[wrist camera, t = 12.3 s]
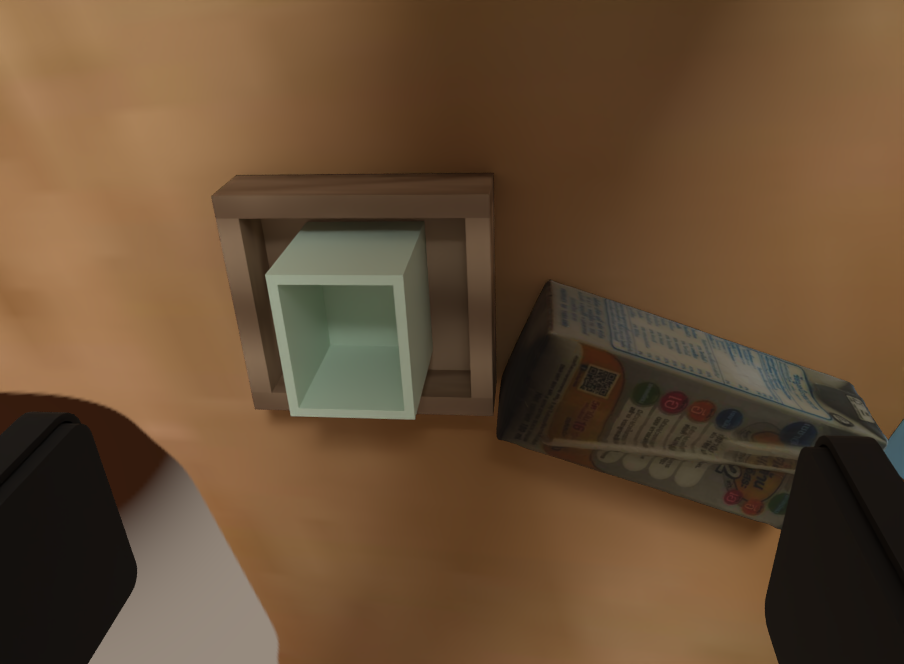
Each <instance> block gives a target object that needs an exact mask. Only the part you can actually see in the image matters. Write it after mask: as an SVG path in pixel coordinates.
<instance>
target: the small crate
mask: <svg viewBox="0 0 904 664" xmlns="http://www.w3.org/2000/svg"><path fill="white" fill-rule="evenodd" d="M265 277H266V282H267V288H268V293H269V299H270V304H271V310H272V315H273V321H274V326H275V332H276V337H277V343H278V348H279V354H280V359H281V365H282V371H283V376H284V382H285V387H286V393H287V398H288V404H289V409H290V415H291V416H303V417H340V418H376V419H413V420H415V417H416V414H417V410H418V406H419V402H420V398H421V394H422V390H423V386H424V383H425V379H426V375H427V371H428V367H429V363H430V359H431V355H432V351H433V344H432V329H431V314H430V298H429V283H428V268H427V252H426V237H425V221H374V222H306V224H305V225H304V226H303V228H302V229H301V230H300V231H299V233H298V234H297V235H296V236H295V238H294V239H293V240H292V241H291V243H290V244H289V245H288V247H287V248H286V249H285V250H284V252H283V253H282V254H281V255H280V257H279V258H278V259H277V260H276V262H275V263H274V264H273V266H272V267H271V268H270V269H269V271H268V272H267V273H266V274H265Z"/></svg>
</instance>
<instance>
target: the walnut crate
mask: <svg viewBox="0 0 904 664" xmlns="http://www.w3.org/2000/svg"><path fill="white" fill-rule="evenodd" d="M211 198H212V203H213V208H214V212H215V217H216V222H217V227H218V232H219V237H220V242H221V246H222V251H223V256H224V261H225V266H226V271H227V275H228V280H229V285H230V290H231V295H232V300H233V305H234V309H235V314H236V319H237V324H238V329H239V334H240V339H241V343H242V348H243V353H244V358H245V363H246V368H247V373H248V377H249V382H250V387H251V392H252V397H253V402H254V406H255V409H263V410H290V409H289V404H288V398H287V393H286V387H285V382H284V376H283V371H282V365H281V359H280V354H279V348H278V343H277V337H276V332H275V326H274V321H273V315H272V310H271V304H270V299H269V293H268V288H267V282H266V277H265V274H266V273H267V272H268V271H269V269H270V268H271V267H272V266H273V264H274V263H275V262H276V260H277V259H278V258H279V257H280V255H281V254H282V253H283V252H284V250H285V249H286V248H287V247H288V245H289V244H290V243H291V241H292V240H293V239H294V238H295V236H296V235H297V234H298V233H299V231H300V230H301V229H302V228H303V226H304V225H305V224H306V222H374V221H425V237H426V252H427V268H428V283H429V298H430V314H431V329H432V344H433V351H432V355H431V359H430V363H429V367H428V371H427V375H426V379H425V383H424V386H423V390H422V394H421V398H420V402H419V406H418V410H417V414H439V415H474V416H493V413H494V403H495V393H496V383H497V380H496V312H495V243H494V175H493V173H427V174H317V175H236V176H235V177H234V178H232V179H231V180H230V181H229V182H227V183H226V184H225V185H224V186H223V187H221V188H220V189H219V190H218V191H216V192H215V193H214V194H213V195H212V196H211Z"/></svg>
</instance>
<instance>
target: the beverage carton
mask: <svg viewBox="0 0 904 664" xmlns="http://www.w3.org/2000/svg"><path fill="white" fill-rule="evenodd" d="M496 434H497V438H498V439H499V440H504V441H508V442H511V443H514V444H517V445H519V446H522V447H524V448H527V449H530V450H533V451H537V452H540V453H543V454H546V455H550V456H553V457H557V458H560V459H563V460H566V461H569V462H572V463H575V464H578V465H581V466H584V467H587V468H590V469H594V470H597V471H600V472H603V473H606V474H610V475H613V476H617V477H620V478H623V479H626V480H629V481H633V482H636V483H639V484H642V485H645V486H649V487H652V488H655V489H658V490H661V491H664V492H667V493H670V494H673V495H676V496H680V497H683V498H686V499H689V500H692V501H695V502H698V503H701V504H704V505H707V506H710V507H713V508H716V509H719V510H723V511H726V512H729V513H732V514H736V515H739V516H742V517H745V518H748V519H752V520H755V521H759V522H763V523H767V524H769V525H771V526H773V527H775V528H777V529H781V530H782V525H783V521H784V517H785V512H786V508H787V504H788V499H789V495H790V491H791V487H792V482H793V478H794V474H795V469H796V465H797V461H798V457H799V454H800V451H801V449H802V448H803V447H814V445H815V443H816V441H817V439H818V438H819V437H820V436H823V435H828V436H862V437H871V438H874V439H875V440H876V441H877V442H878V443H879V445H880V446H881V448H882V449H883V451H884V450H885V449H886V447H887V445H888V440H887V438H886V437H885V435H884V434H883V433H882V431H881V430H880V428H879V427H878V425H877V424H876V422H875V421H874V419H873V418H872V416H871V414H870V412H869V410H868V408H867V407H866V405H865V402H864V401H863V399H862V398H861V397H860V396H859V395H858V394H857V392H856V391H855V388H854V386H853V385H852V384H851V383H849V382H847V381H844V380H841V379H838V378H835V377H833V376H830V375H827V374H825V373H821V372H818V371H815V370H812V369H809V368H806V367H803V366H800V365H797V364H794V363H791V362H789V361H786V360H783V359H780V358H777V357H775V356H772V355H769V354H767V353H763V352H760V351H757V350H754V349H751V348H748V347H746V346H743V345H740V344H737V343H734V342H731V341H728V340H725V339H722V338H719V337H716V336H714V335H711V334H708V333H705V332H703V331H700V330H697V329H694V328H691V327H688V326H686V325H683V324H680V323H677V322H674V321H671V320H668V319H665V318H662V317H659V316H656V315H654V314H651V313H648V312H645V311H642V310H639V309H636V308H633V307H630V306H627V305H624V304H621V303H618V302H615V301H612V300H609V299H606V298H603V297H600V296H597V295H594V294H591V293H588V292H585V291H581V290H579V289H576V288H573V287H570V286H566V285H563V284H560V283H557V282H554V281H552V280H548V281H547V282H546V284H545V285H544V287H543V289H542V291H541V293H540V295H539V297H538V299H537V301H536V304H535V306H534V308H533V310H532V312H531V314H530V316H529V318H528V320H527V322H526V324H525V327H524V329H523V331H522V333H521V335H520V337H519V339H518V341H517V343H516V345H515V348H514V350H513V352H512V354H511V356H510V359H509V361H508V363H507V366H506V368H505V371H504V373H503V376H502V380H501V387H500V394H499V407H498V419H497V431H496Z"/></svg>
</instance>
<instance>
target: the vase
mask: <svg viewBox="0 0 904 664" xmlns="http://www.w3.org/2000/svg"><path fill="white" fill-rule="evenodd" d="M884 452H885V454H886V455H887V457H888V458H889V460H890V462H891V463H892V465H893V466H894V468H895V469H896V471H897V472H898V474H899V476H900V477H902V478H903V479H904V419H903V421H902V422H901V423H900V425H899V426H898V428H897V429H896V430H895V432H894V433H893V434H892V436H891V437H890V439H889V440H888V445H887V447H886V449H885V450H884Z"/></svg>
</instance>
